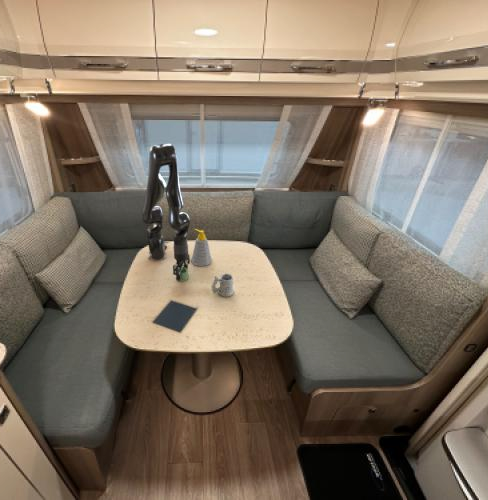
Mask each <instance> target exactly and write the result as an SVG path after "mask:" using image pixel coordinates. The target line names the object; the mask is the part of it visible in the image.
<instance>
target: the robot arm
mask: <svg viewBox="0 0 488 500" xmlns="http://www.w3.org/2000/svg"><path fill="white" fill-rule="evenodd" d="M166 166H168V178H167V179H168V180H167V183H166V181H165V180H164V178H163V177H162V176H161V173H160V170H161V168H163V167H166ZM178 166H179V165H178V155H177V152H176V149H175V146H174V145H173V144H172V143H171V142H165V143H160V144H155V145H153V146H151V147H150V149H149V155H148V176H147V177H148V178H147V183H146V191H145V199H144V204H143V207H142V212H141V216H142V221H143V222H144V223H145V224H146V225H149V226H148V227H147V228H146V235H147V241H148V242H147V244H148V255H149V259H150V260H151V261H154V262H160V261H162V260H164V259H165V258H166V249H167V248H168V246H167V245H165V242H167V241H171V239H170V238H167V239H164V217H163V210H162V208H161V206H159V205H158V204H159V203H160V202H161V200H162V199H164V197H166V203H167V206H168V223H169V226H170V228H171V229H172V230H174V232H173V236H172V237H173V258H174V260H175V261H176V262H175V264H173V265H172V275H174V276H175V280H176V281H179V280H180V272H181V271H182V268H183V267H186V268H187V269H188V270H189V264H191V258H190V257H191V256H190V254H189V243H188V234H189V230H190V225H191V220H190V217H189V215H188V214H187V213H186V212H180V211H181V210H182V209H183V208H184V203H183V198H182V193H181V188H180V181H179V167H178ZM178 268H181V269H178ZM178 270H179V272H178Z"/></svg>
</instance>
